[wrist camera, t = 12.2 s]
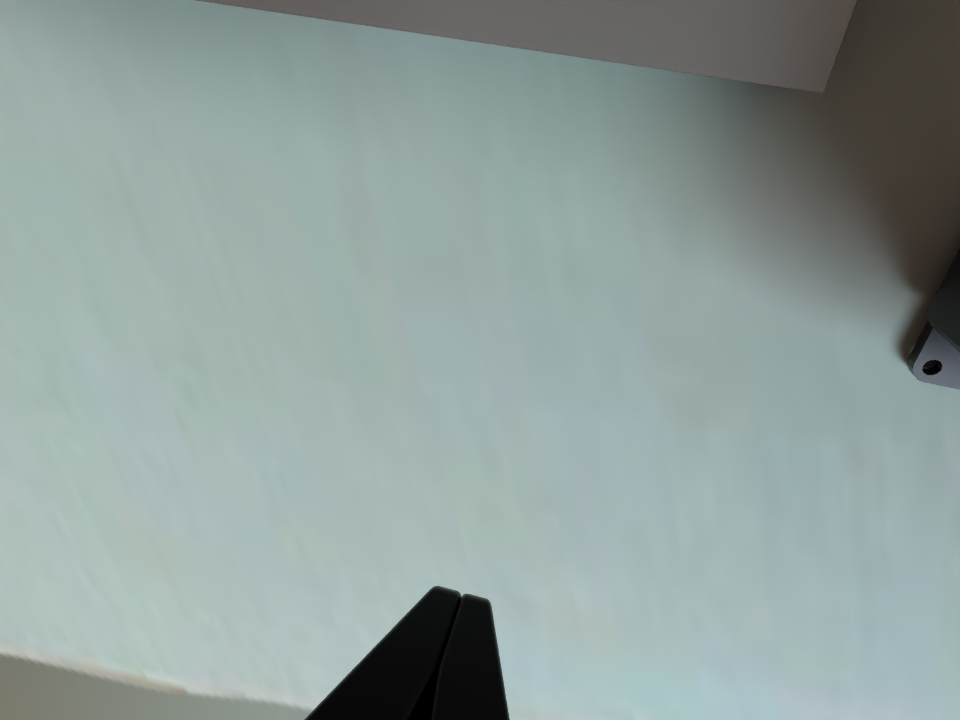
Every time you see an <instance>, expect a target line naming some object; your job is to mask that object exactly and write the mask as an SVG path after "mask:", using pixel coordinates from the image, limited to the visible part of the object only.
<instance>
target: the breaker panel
mask: <svg viewBox="0 0 960 720" xmlns="http://www.w3.org/2000/svg"><path fill="white" fill-rule="evenodd" d="M198 1H205V2H211V3H218V4H225V5H232V6H238V7H245V8H252V9H259V10H265V11H272V12H279V13H286V14H292V15H299V16H306V17H312V18H319V19H326V20H333V21H339V22H346V23H353V24H360V25H366V26H373V27H380V28H387V29H393V30H400V31H407V32H414V33H420V34H427V35H434V36H440V37H447V38H454V39H461V40H467V41H474V42H481V43H488V44H494V45H501V46H508V47H515V48H521V49H528V50H535V51H542V52H548V53H555V54H562V55H569V56H575V57H582V58H589V59H595V60H602V61H609V62H616V63H622V64H629V65H636V66H643V67H649V68H656V69H663V70H670V71H676V72H683V73H690V74H697V75H703V76H710V77H717V78H724V79H730V80H737V81H744V82H750V83H757V84H764V85H771V86H777V87H784V88H791V89H798V90H804V91H811V92H818V93H823V92H824V90H825V87H826V84H827V81H828V79H829V76H830V73H831V70H832V68H833V65H834V62H835V59H836V57H837V54H838V51H839V48H840V46H841V43H842V40H843V37H844V35H845V32H846V29H847V26H848V24H849V21H850V18H851V15H852V13H853V10H854V7H855V4H856V2H857V0H198Z"/></svg>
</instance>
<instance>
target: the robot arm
mask: <svg viewBox="0 0 960 720" xmlns="http://www.w3.org/2000/svg"><path fill="white" fill-rule="evenodd" d="M926 318H927V320H928V323H927V325H926V326H925V328H924V330H923V332H922V334H921V336H920V338H919V340H918V342H917V344H916V346H915V347H914V349H913V351H912V353H911V355H910V357H909V360H908V363H907V364H908V368H909V370H910V371H911V372H912V374H913V375H914V376H915V377H916V378H917V379H918V380H920V381H923V382H926V383H931V384H936V385H941V386H946V387H951V388H956V389H960V249H959V251H958V253H957V255H956V257H955V259H954V261H953V263H952V265H951V267H950V268H949V270H948V272H947V274H946V276H945V278H944V280H943V282H942V284H941V286H940V288H939V290H938V292H937V293H936V295H935V297H934V299H933V301H932V303H931V305H930V307H929V309H928V311H927V313H926ZM930 360H936V364H935V365H934V366H933V367H931V368H929V369H922V368H923V365H924V364H925V363H926V362H928V361H930ZM304 720H510V719H509V713H508V707H507V701H506V694H505V688H504V682H503V676H502V669H501V663H500V657H499V651H498V644H497V638H496V632H495V626H494V619H493V613H492V607H491V603H490V601H489V600H488V599H486V598H482V597H478V596H474V595H471V594H464V595H463V596H462V597H461V594H460V593H459V592H458V591H456V590H452V589H448V588H444V587H440V586H435V587H433V588H432V589H430V590H429V591H428V592H427V593H426V594H425V595H424V596H423V597H422V599H421V600H420V601H419V602H418V603H417V604H416V605H415V606H414V607H413V608H412V609H411V610H410V611H409V612H408V613H407V614H406V615H405V616H404V617H403V618H402V619H401V620H400V621H399V622H398V623H397V624H396V625H395V626H394V627H393V629H392V630H391V631H390V632H389V633H388V634H387V635H386V636H385V637H384V638H383V639H382V640H381V641H380V642H379V643H378V644H377V645H376V646H375V647H374V648H373V649H372V650H371V651H370V652H369V653H368V654H367V655H366V656H365V657H364V658H363V660H362V661H361V662H360V663H359V664H358V665H357V666H356V667H355V668H354V669H353V670H352V671H351V672H350V673H349V674H348V675H347V676H346V677H345V678H344V679H343V680H342V681H341V682H340V683H339V684H338V685H337V686H336V687H335V688H334V689H333V691H332V692H331V693H330V694H329V695H328V696H327V697H326V698H325V699H324V700H323V701H322V702H321V703H320V704H319V705H318V706H317V707H316V708H315V709H314V710H313V711H312V712H311V713H310V714H309V715H308V716H307V717H306V719H304Z"/></svg>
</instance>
